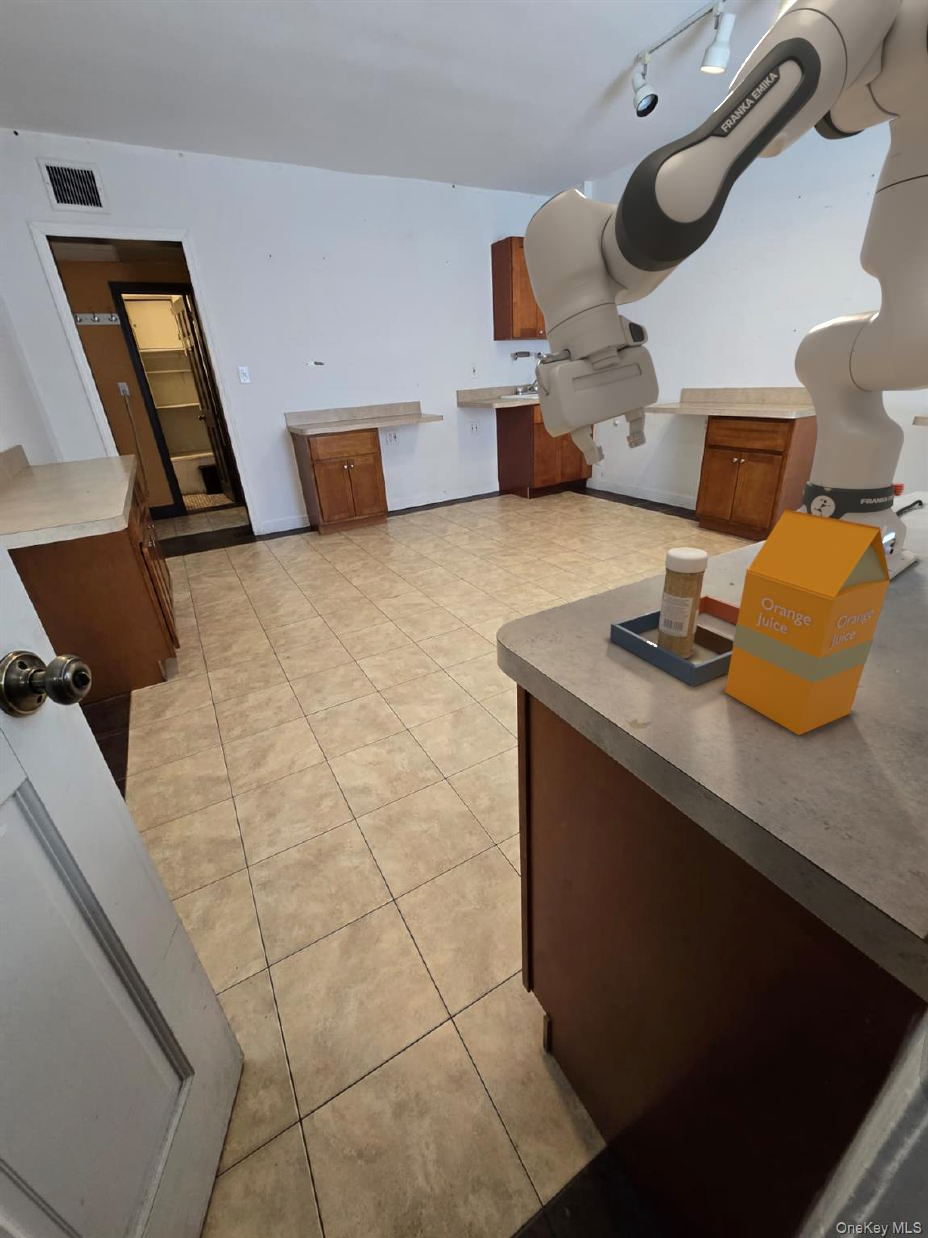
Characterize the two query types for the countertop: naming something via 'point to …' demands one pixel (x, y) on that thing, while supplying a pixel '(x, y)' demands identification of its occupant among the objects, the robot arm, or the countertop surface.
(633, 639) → the sorting tray
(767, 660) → the orange juice
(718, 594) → the countertop surface
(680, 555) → the sprinkles bottle
